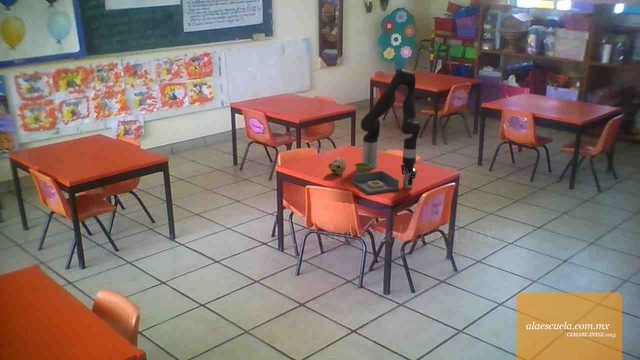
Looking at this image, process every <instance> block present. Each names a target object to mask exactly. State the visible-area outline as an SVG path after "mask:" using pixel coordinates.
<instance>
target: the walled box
mask: <svg viewBox="0 0 640 360" xmlns="http://www.w3.org/2000/svg"><path fill="white" fill-rule="evenodd" d="M399 180H400V179H398V178H396V177H394V176H393V175H391V174H389V173H388V172H386V171H384V170H375V171H368V172H367V173H360V174H357V173H353V174H352V185H353V186H355V187H356V188H358V189H359V190H361V191H362V192H364V193H365V194H367V195H368V196H369V195H377V194H383V193H389V192H390V191H391V192H396V191H400V186H399V184H400V183H399V182H400V181H399Z"/></svg>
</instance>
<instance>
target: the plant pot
mask: <svg viewBox="0 0 640 360" xmlns="http://www.w3.org/2000/svg"><path fill="white" fill-rule="evenodd" d="M354 166H355V169H356V174H360V173H367V172H370V171H369V170H370V169H369V167H370V164H368V163H362V162H357V163H355V164H354Z"/></svg>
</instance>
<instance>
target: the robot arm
mask: <svg viewBox="0 0 640 360" xmlns="http://www.w3.org/2000/svg"><path fill="white" fill-rule="evenodd" d="M416 81H417V80H416V73H415V72H414V71H412V70H409V69H403V68H400V69H398V70H397V71H396V72H395V74H394V75H393V77H392V78H391V81H390V82H389V83H388V86H387V87H386V88H385V90H384V91H383V93H382V94H381V95H380V96H379V98H378V99H377V101H376V103H374V105H373V107H371V109H370V110H369V111H368V113H367V114H365V116H364V117H363V118H362V119H361V122H360V128H361V130H362V131H364V132H366V133H365V135H364V136H363V138H362V154H361V155H362V156H361V157H362V159H361V160H362V161H361V163H368V164H370V167H369V170H370V169H375V168H377V167H378V163H377V162H378V140H379V137H380V129H381V127H380V126H381V121H380V119H379V118H381V117H382V116H383V115H385V114H386V113H387V112H389V111H390V110H391V109H392V107H393V106H394V105H395V103H396V99H397V97H396V93H397V92H396V91H397V90H398V88H399V86H403V87H406V88H407V93H406V96H405V97H404V100H403V101H402V123H401V132H402V134H404V135H410V136H409V137H408V136H407V137H405V138H404V139H403V149H402V164H400V168H401V175H403V176H404V173H405V172H407V174H408V185H412V179H413V180H414V179H415V178H416V175H417V169H415V166H414V165H415V164H416V163H417V162H416V161H417V142H418V137H419V134H420V131H421V128H422V127H421V124H420V122H419V121H410V120H413V119H415V118H416V116H417V113H416V102H415V99H416V98H415V97H416V96H415V95H416V83H417V82H416ZM409 173H411V174H409ZM410 175H411V176H410Z"/></svg>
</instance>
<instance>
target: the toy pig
mask: <svg viewBox="0 0 640 360" xmlns="http://www.w3.org/2000/svg"><path fill="white" fill-rule="evenodd" d="M346 168H347V164H346V161H345V160H344V158H343V157H339V156H337V157H336V158H335V159H334V160H333V161H332V162H331V163H329V164H328V169H329V170H330V171H331V174H332V175H334V174H335V175H339V176H341V175H342V174H343V173H344V172H345V170H346Z"/></svg>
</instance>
